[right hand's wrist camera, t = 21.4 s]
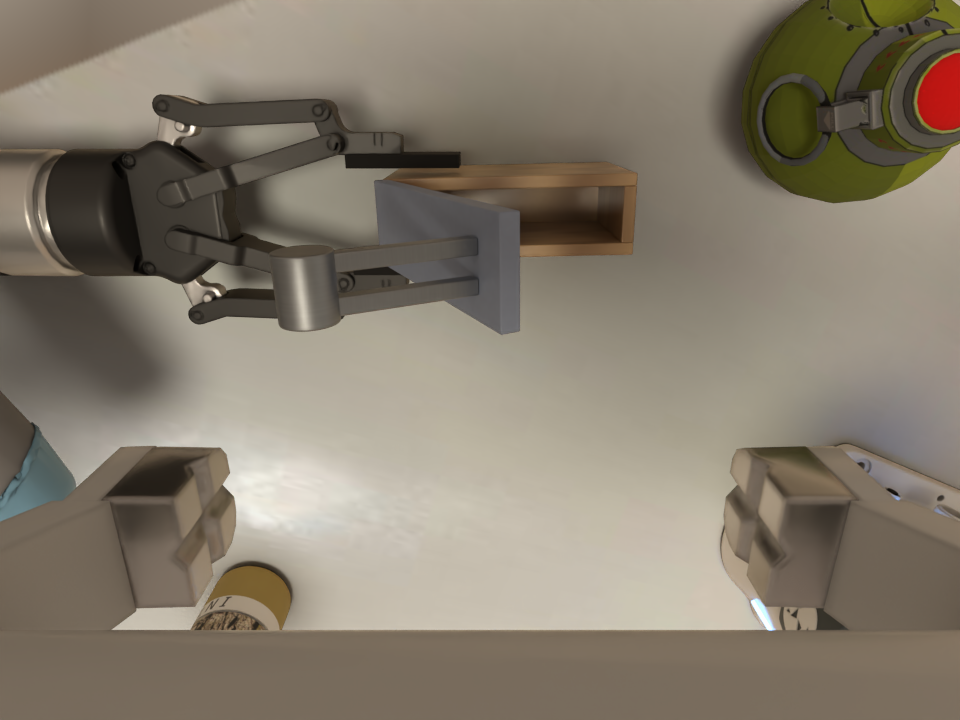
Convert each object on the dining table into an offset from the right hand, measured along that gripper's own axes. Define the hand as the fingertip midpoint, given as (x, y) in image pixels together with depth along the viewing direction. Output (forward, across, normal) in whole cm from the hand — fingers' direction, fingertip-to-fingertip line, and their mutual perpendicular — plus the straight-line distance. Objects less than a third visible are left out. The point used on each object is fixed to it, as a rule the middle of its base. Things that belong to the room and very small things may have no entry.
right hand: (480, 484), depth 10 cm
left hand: (+30, +1, 0) cm, 31 cm away
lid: (+21, +2, 0) cm, 21 cm away
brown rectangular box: (+37, -2, 0) cm, 37 cm away
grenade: (+37, -21, -6) cm, 43 cm away
